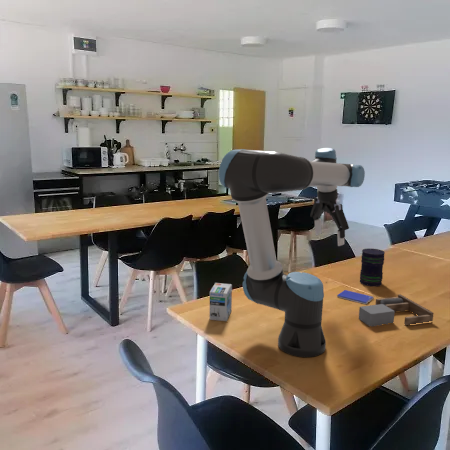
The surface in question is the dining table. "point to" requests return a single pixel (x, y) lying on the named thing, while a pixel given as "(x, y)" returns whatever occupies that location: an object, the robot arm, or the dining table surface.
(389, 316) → the plain gray cuboid
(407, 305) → the rack
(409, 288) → the dining table surface
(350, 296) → the hard drive
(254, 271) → the robot arm
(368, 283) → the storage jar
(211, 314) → the light bulb box
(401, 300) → the plain gray cylinder
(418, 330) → the dining table surface
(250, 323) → the dining table surface
